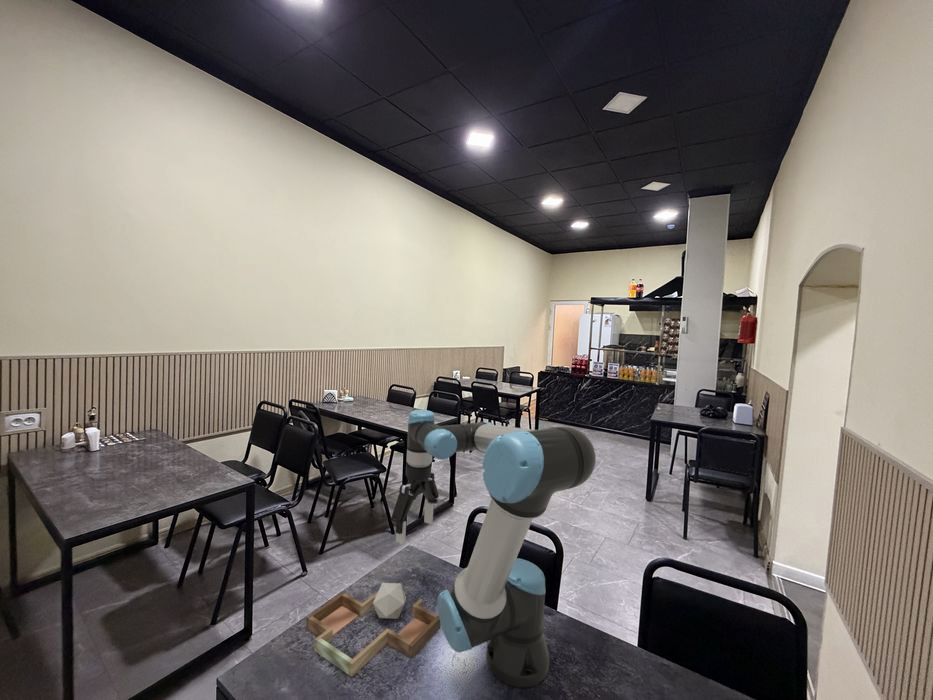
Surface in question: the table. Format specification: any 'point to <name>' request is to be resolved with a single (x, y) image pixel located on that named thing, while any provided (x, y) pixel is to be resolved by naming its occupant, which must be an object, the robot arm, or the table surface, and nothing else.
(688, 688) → the table surface
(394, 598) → the die
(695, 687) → the table surface
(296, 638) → the table surface
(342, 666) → the channel
